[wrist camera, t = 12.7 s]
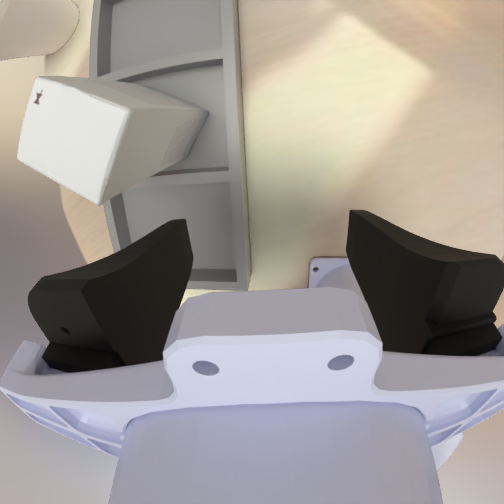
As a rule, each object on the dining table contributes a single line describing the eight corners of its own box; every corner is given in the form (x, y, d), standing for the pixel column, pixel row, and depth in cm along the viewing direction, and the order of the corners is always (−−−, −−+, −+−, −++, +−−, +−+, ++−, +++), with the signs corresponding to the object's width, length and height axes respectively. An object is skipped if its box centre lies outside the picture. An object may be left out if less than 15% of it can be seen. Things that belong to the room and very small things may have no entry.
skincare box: (126, 132, 19) (13, 159, 9) (146, 85, 18) (33, 72, 7) (188, 161, 20) (97, 211, 9) (213, 112, 18) (132, 105, 8)
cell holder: (251, 271, 25) (247, 290, 22) (136, 269, 26) (123, 285, 24) (236, -28, 13) (230, -44, 10) (111, 4, 14) (94, -5, 12)
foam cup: (107, -2, 14) (13, -38, 2) (60, 77, 18) (-46, 84, 6) (59, -12, 12) (-21, -31, 1) (21, 56, 16) (-65, 62, 4)
